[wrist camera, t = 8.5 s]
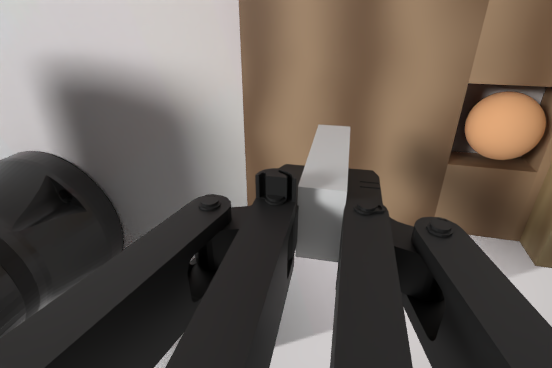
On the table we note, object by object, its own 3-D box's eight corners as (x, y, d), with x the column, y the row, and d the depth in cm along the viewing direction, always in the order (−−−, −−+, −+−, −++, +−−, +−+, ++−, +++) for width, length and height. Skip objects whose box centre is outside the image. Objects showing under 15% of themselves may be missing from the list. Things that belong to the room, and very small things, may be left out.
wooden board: (256, 191, 29) (236, 222, 24) (251, -13, 22) (222, -19, 18) (553, 226, 24) (593, 274, 20) (664, -19, 17) (762, -29, 13)
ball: (445, 146, 23) (483, 172, 19) (460, 85, 21) (505, 101, 17) (501, 144, 23) (548, 169, 20) (520, 84, 21) (577, 99, 18)
